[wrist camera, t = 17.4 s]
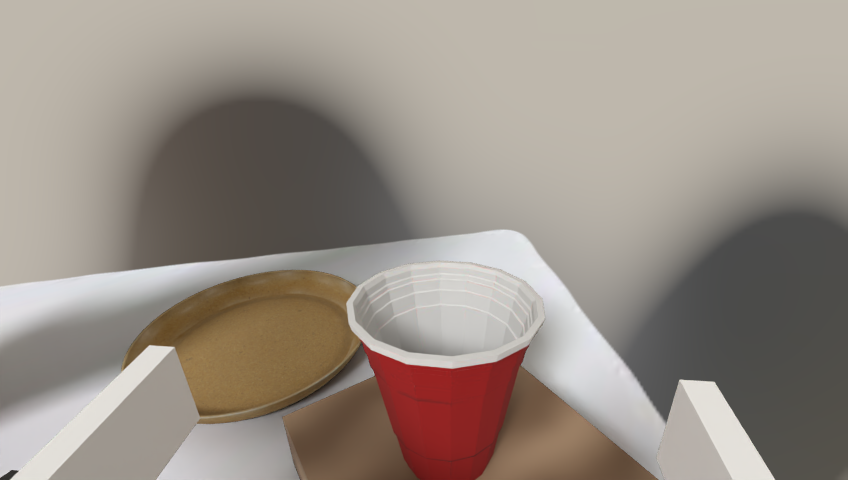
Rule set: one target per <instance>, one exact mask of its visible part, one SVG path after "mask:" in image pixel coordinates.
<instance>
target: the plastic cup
mask: <svg viewBox="0 0 848 480" xmlns="http://www.w3.org/2000/svg"><path fill="white" fill-rule="evenodd" d="M346 305H347V313H348V322H349V325H350V328H351V330H352V331H353V332H354V333H355V334H356V335H357V336H358V337H359V339H360V341H361V342H362V344H363V348H364V351H365V353H366V354H367V356H368V359H369V363H370V366H371V368H372V369H373V370H374V373H375V376H376V380H377V383H378V386H379V389H380V392H381V395H382V398H383V401H384V404H385V407H386V410H387V413H388V416H389V420H390V423H391V426H392V429H393V432H394V433H395V435H396V436H397V439H398V442H399V445H400V448H401V451H402V454H403V457H404V460H405V461H406V463H407V464H408V466H409V468H410V469H411V470H412V471H413V473H414V474H415V475H416V477H417V478H418V479H420V480H475V479H477V478H478V477H480V476H481V475H482V474H483V472H484V470H485V468H486V466H487V465H488V463H489V461H490V459H491V457H492V456H493V453H494V449H495V445H496V441H497V438H498V434H499V432H500V430H501V428H502V426H503V422H504V419H505V415H506V412H507V408H508V405H509V401H510V398H511V394H512V391H513V387H514V384H515V380H516V377H517V373H518V370H519V366H520V365H521V363H522V362H523V358H524V355H525V351H526V350H527V348H528V347H529V344H530V342H531V341H532V339H533V338H534V336H535V335H536V333H537V332H538V331H539V329H540V328H541V326H542V325H543V322H544V320H545V314H544V307H543V300H542V298H541V297H540V296H539V295H538V294H537V293H536V292H535V290H534V289H533V288H532V287H531V286H530V285H529V284H528V283H527V282H526V281H524V280H521V279H519V278H517V277H515V276H513V275H511V274H509V273H507V272H505V271H503V270H501V269H497V268H492V267H488V266H484V265H480V264H475V263H471V262H454V261H431V262H421V263H412V264H406V265H403V266H399V267H396V268H393V269H389V270H386V271H383V272H380V273H378V274H376V275H375V276H373V277H371V278H370V279H368V280H366V281H365V282H363V283H361V284H360V285H358V287H357V288H356V289H355V291H354V292H353V294H352V295H351V297H350V298H349V300H348V301H347V303H346Z"/></svg>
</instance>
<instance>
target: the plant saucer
mask: <svg viewBox="0 0 848 480" xmlns="http://www.w3.org/2000/svg"><path fill="white" fill-rule="evenodd" d="M356 288H357V287H356V286H355V285H353V284H352V283H351V282H349V281H347V280H345V279H343V278H341V277H338V276H335V275H332V274H328V273H324V272H318V271H310V270H281V271H271V272H264V273H259V274H253V275H248V276H245V277H241V278H237V279H233V280H230V281H227V282H224V283H221V284H218V285H216V286H213V287H210V288H208V289H205V290H203V291H201V292H199V293H196V294H194V295H192V296H190V297H188V298H186V299H185V300H183V301H181V302H179V303H178V304H176V305H174V306H173V307H171V308H170V309H168V310H167V311H165V312H164V313H163V314H161V315H160V316H159V317H157V318H156V319H155V320H154V321H152V322H151V323H150V324H149V325H148V326H147V327H146V328H145V329H144V330H143V331H142V332H141V333H140V334H139V335H138V337H137V338H136V339H135V340H134V342H133V343H132V344H131V346H130V348H129V349H128V351H127V353H126V355H125V357H124V360H123V363H122V368H121V372H122V371H123V370H124V369H125V368H126V367H127V366H129V365H130V364H131V363H132V362H133V361H134V360H135V359H136V358H137V357H138V356H139V355H140V354H141V353H142V352H143V351H144V350H145V349H146V348H147V347H148V346H149V345H152V346H167V347H175V350H176V352H177V355H178V358H179V361H180V363H181V366H182V369H183V372H184V374H185V377H186V380H187V383H188V386H189V388H190V391H191V394H192V397H193V399H194V402H195V405H196V408H197V410H198V413H199V416H200V419H199V421H198V422H197V424H217V423H228V422H236V421H241V420H246V419H251V418H255V417H259V416H262V415H265V414H268V413H271V412H274V411H277V410H279V409H282V408H284V407H286V406H289V405H291V404H293V403H295V402H297V401H299V400H301V399H303V398H305V397H306V396H308V395H310V394H312V393H313V392H315V391H316V390H318V389H319V388H320V387H322V386H323V385H325V384H326V383H327V382H328V381H330V380H331V379H332V378H333V377H334V376H335V375H337V374H338V373H339V372H340V371H341V370H342V369H343V368H344V367H345V365H346V364H347V363H348V362H349V361H350V360H351V358H352V357H353V356H354V354H355V353H356V351H357V350H358V348H359V346H360V345H361V343H362V342H361V341H360V339H359V337H358V336H357V335H356V334H355V333H354V332H353V331H352V330H351V328H350V325H349V322H348V313H347V305H346V303H347V301H348V300H349V298H350V297H351V295H352V294H353V292H354V291H355V289H356Z"/></svg>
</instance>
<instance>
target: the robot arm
mask: <svg viewBox="0 0 848 480" xmlns="http://www.w3.org/2000/svg"><path fill="white" fill-rule="evenodd" d="M199 419H200V416H199V413H198V410H197V408H196V405H195V402H194V399H193V397H192V394H191V391H190V388H189V386H188V383H187V380H186V377H185V374H184V372H183V369H182V366H181V363H180V361H179V358H178V355H177V352H176V350H175V347H167V346H152V345H149V346H148V347H147V348H146V349H145V350H144V351H143V352H142V353H141V354H140V355H139V356H138V357H137V358H136V359H135V360H134V361H133V362H132V363H131V364H130V365H129V366H127V367H126V368H125V369H124V370H123V371H122V372H121V373H120V374H119V375H118V376H117V377H116V378H115V379H114V380H113V381H112V382H111V383H110V384H109V385H108V386H107V387H106V388H105V389H104V390H103V391H102V392H100V393H99V394H98V395H97V396H96V397H95V398H94V399H93V400H92V401H91V402H90V403H89V404H88V405H87V406H86V407H85V408H84V409H83V410H82V411H81V412H80V413H79V414H78V415H77V416H76V417H75V418H74V419H72V420H71V421H70V422H69V423H68V424H67V425H66V426H65V427H64V428H63V429H62V430H61V431H60V432H59V433H58V434H57V435H56V436H55V437H54V438H53V439H52V440H51V441H50V442H49V443H48V444H47V445H45V446H44V447H43V448H42V449H41V450H40V451H39V452H38V453H37V454H36V455H35V456H34V457H33V458H32V459H31V460H30V461H29V462H28V463H27V464H26V465H25V466H24V467H23V468H22V469H21V470H20V471H16V470H11V471H10V472H8V473H7V474H5V475H4V476H2V477H1V478H0V480H156V479H157V478H158V476H159V475H160V473H161V472H162V471H163V469H164V468H165V466H166V465H167V464H168V462H169V461H170V459H171V458H172V457H173V455H174V454H175V453H176V451H177V450H178V448H179V447H180V446H181V444H182V443H183V441H184V440H185V439H186V437H187V436H188V435H189V433H190V432H191V430H192V429H193V428H194V426H195V425H196V423H197V422H198V421H199ZM656 458H657V461H658V463H659V466H660V469H661V471H662V474H663V477H664V479H665V480H775V479H774V477H773V476H772V474H771V473H770V471H769V469H768V468H767V466H766V464H765V463H764V461H763V460H762V458H761V456H760V455H759V453H758V452H757V450H756V449H755V447H754V445H753V444H752V442H751V441H750V439H749V437H748V436H747V434H746V432H745V431H744V429H743V428H742V426H741V424H740V423H739V421H738V419H737V418H736V416H735V415H734V413H733V411H732V410H731V408H730V407H729V405H728V403H727V402H726V400H725V399H724V397H723V396H722V394H721V392H720V391H719V389H718V387H717V386H716V384H715V382H706V381H692V380H679V383H678V387H677V390H676V394H675V397H674V400H673V404H672V407H671V411H670V414H669V417H668V420H667V424H666V427H665V430H664V434H663V437H662V441H661V444H660V447H659V451H658V454H657V457H656Z"/></svg>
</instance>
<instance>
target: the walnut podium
mask: <svg viewBox="0 0 848 480" xmlns="http://www.w3.org/2000/svg"><path fill="white" fill-rule="evenodd" d="M282 418H283V422H284V426H285V430H286V434H287V438H288V442H289V446H290V450H291V454H292V458H293V462H294V465H295V467H296V470H297V473H298V475H299V478H300V480H420V479H418V478H417V477H416V475H415V474H414V473H413V471H412V470H411V469H410V468H409V466H408V464H407V463H406V461H405V460H404V457H403V454H402V451H401V448H400V445H399V442H398V439H397V436H396V435H395V433H394V432H393V429H392V426H391V423H390V420H389V416H388V413H387V410H386V407H385V404H384V401H383V398H382V395H381V392H380V389H379V386H378V383H377V380H376V376H374V377H372V378H369V379H367V380H365V381H363V382H360V383H358V384H356V385H354V386H351V387H349V388H347V389H345V390H342V391H340V392H338V393H335V394H333V395H331V396H329V397H326V398H324V399H322V400H320V401H317V402H315V403H313V404H311V405H308V406H306V407H304V408H301V409H299V410H297V411H295V412H292V413H290V414H288V415H286V416H283V417H282ZM475 480H658V479H657V478H656V477H655V476H653V475H652V474H651V473H650V472H648V471H647V470H646V469H645V468H644V467H642V466H641V465H640V464H639V463H638V462H636V461H635V460H634V459H633V458H632V457H630V456H629V455H628V454H627V453H626V452H624V451H623V450H622V449H621V448H620V447H618V446H617V445H616V444H615V443H613V442H612V441H611V440H610V439H609V438H607V437H606V436H605V435H604V434H603V433H601V432H600V431H599V430H598V429H597V428H595V427H594V426H593V425H592V424H591V423H589V422H588V421H587V420H586V419H584V418H583V417H582V416H581V415H580V414H578V413H577V412H576V411H575V410H574V409H572V408H571V407H570V406H569V405H568V404H566V403H565V402H564V401H563V400H562V399H560V398H559V397H558V396H557V395H556V394H554V393H553V392H552V391H551V390H549V389H548V388H547V387H546V386H545V385H543V384H542V383H541V382H540V381H539V380H537V379H536V378H535V377H534V376H533V375H531V374H530V373H529V372H528V371H527V370H525V369H524V368H523V367H522V366H521V365H520V366H519V370H518V373H517V377H516V380H515V384H514V387H513V391H512V394H511V398H510V401H509V405H508V408H507V412H506V415H505V419H504V422H503V426H502V428H501V430H500V432H499V434H498V438H497V441H496V445H495V449H494V453H493V456H492V457H491V459H490V461H489V463H488V465H487V466H486V468H485V470H484V472H483V474H482V475H481V476H480V477H478V478H477V479H475Z"/></svg>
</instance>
